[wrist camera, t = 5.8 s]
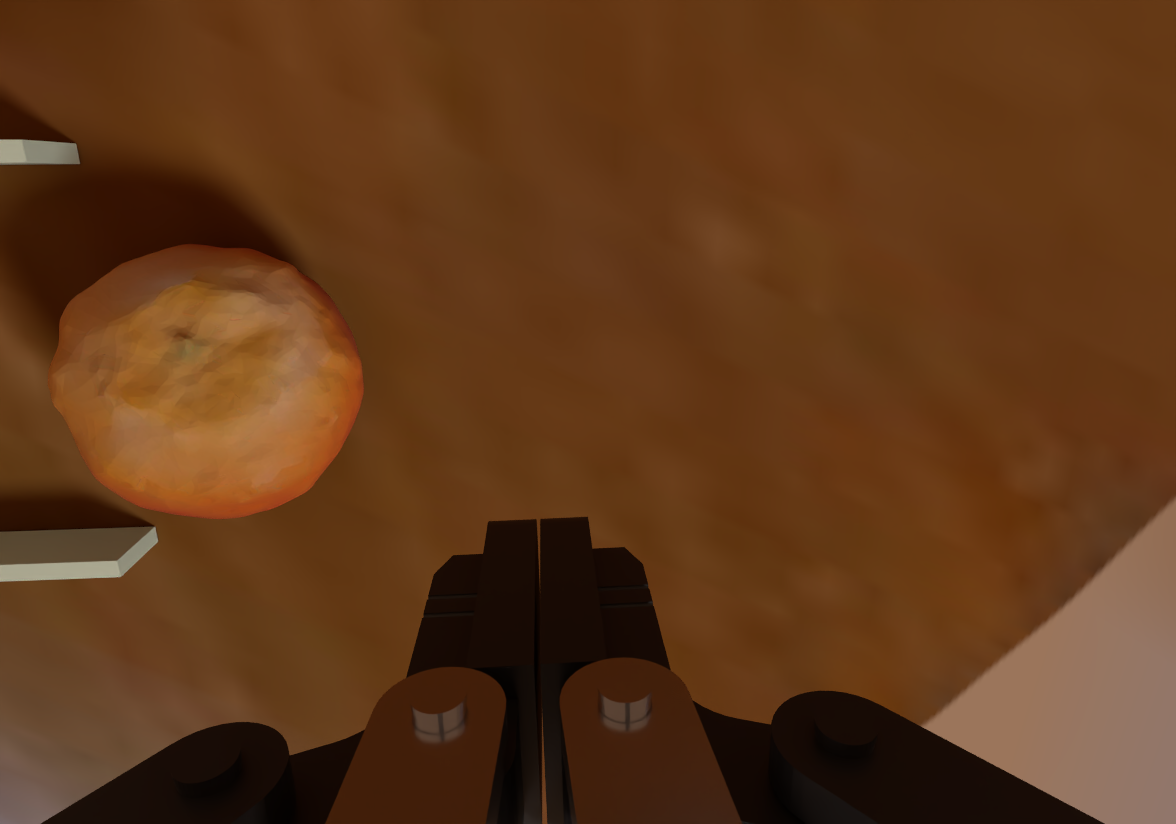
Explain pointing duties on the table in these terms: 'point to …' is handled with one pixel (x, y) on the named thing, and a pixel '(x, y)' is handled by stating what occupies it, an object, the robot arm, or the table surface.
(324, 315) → the fruit
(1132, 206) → the table surface
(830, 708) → the robot arm
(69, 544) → the pale gray u-shaped frame
